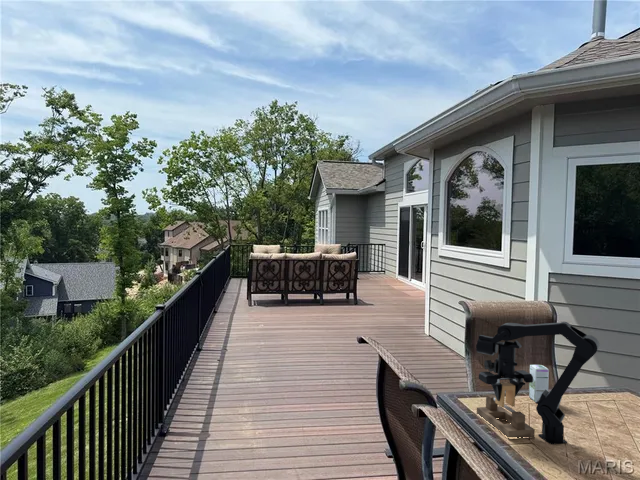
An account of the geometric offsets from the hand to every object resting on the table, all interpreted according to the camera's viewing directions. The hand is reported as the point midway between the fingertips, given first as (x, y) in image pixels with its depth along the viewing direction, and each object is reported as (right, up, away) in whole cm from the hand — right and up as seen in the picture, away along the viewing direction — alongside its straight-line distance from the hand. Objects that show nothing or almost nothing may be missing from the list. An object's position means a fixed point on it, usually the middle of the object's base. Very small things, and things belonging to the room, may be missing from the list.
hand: (505, 400), depth 158 cm
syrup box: (+26, -10, +27) cm, 38 cm away
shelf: (0, -10, 0) cm, 10 cm away
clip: (0, -2, 0) cm, 2 cm away
